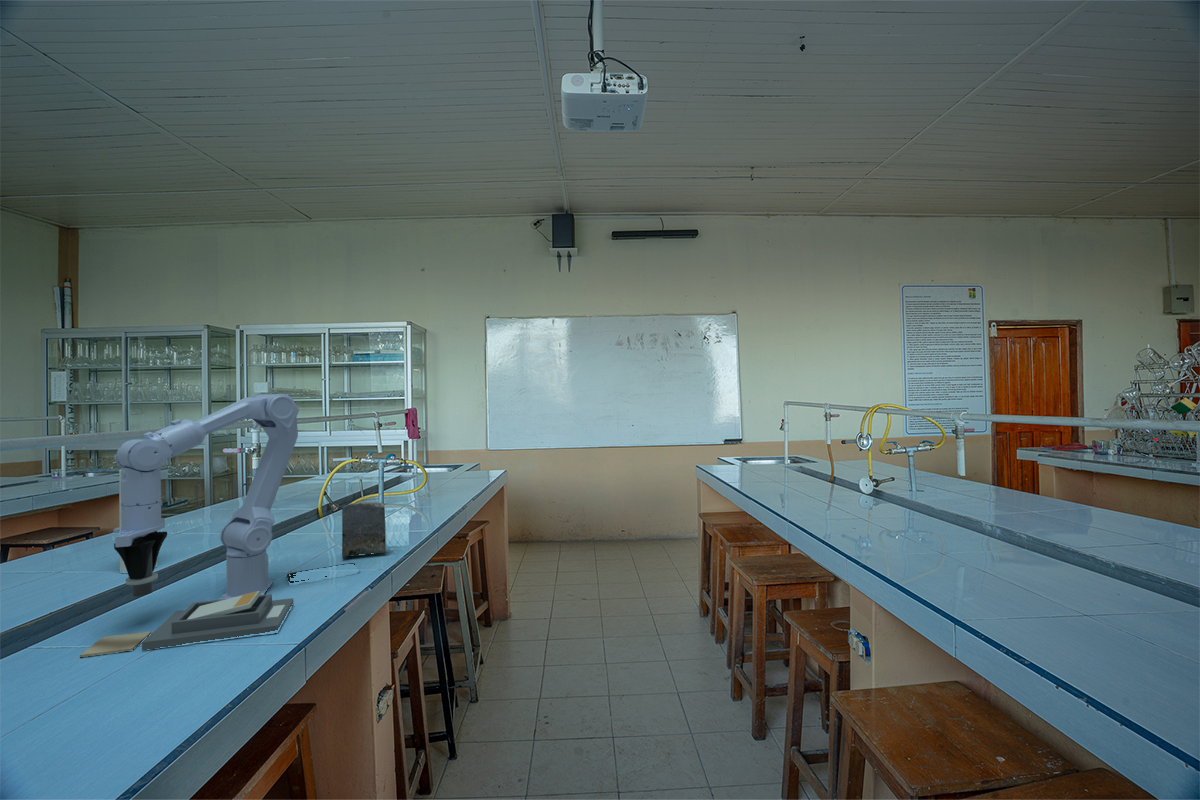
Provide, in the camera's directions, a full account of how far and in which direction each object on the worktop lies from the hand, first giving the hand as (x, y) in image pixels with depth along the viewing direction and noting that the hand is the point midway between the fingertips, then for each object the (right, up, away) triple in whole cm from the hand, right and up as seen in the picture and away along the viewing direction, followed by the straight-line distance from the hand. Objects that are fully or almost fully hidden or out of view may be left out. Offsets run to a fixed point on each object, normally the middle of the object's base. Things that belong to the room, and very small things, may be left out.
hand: (142, 575), depth 101 cm
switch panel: (+16, -9, -1) cm, 19 cm away
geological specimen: (+23, -9, +43) cm, 50 cm away
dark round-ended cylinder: (0, -4, 0) cm, 3 cm away
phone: (+20, -10, +28) cm, 36 cm away
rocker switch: (+16, -6, -1) cm, 17 cm away
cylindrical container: (-29, -9, +32) cm, 44 cm away
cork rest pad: (+3, -9, -9) cm, 13 cm away
